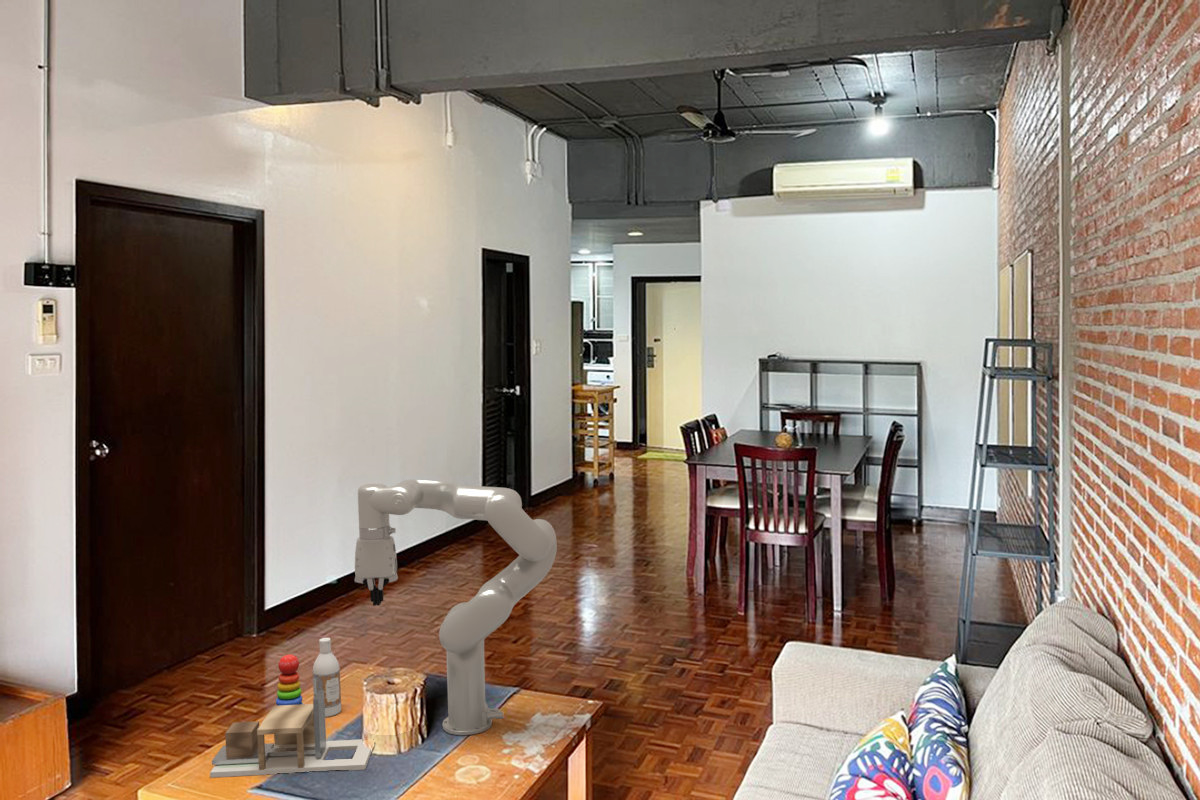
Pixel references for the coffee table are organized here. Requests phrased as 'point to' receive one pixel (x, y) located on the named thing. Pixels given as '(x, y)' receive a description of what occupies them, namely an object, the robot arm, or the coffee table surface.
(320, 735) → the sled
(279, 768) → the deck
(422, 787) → the coffee table surface
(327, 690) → the bath foam
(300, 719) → the tunnel
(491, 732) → the coffee table surface
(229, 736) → the walnut block
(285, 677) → the stacking toy
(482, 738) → the coffee table surface
